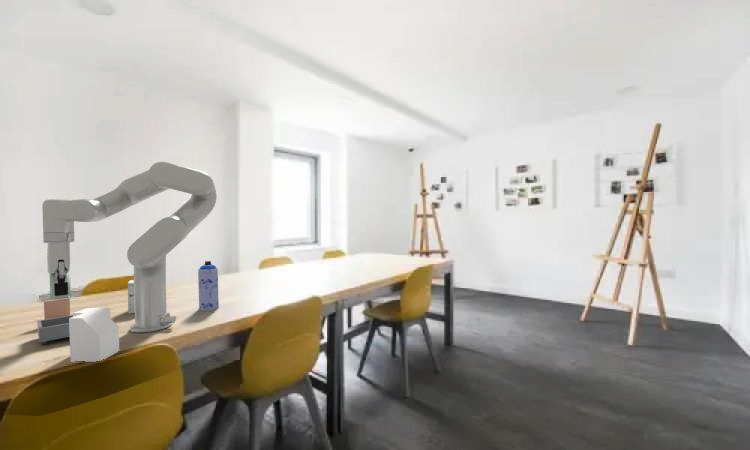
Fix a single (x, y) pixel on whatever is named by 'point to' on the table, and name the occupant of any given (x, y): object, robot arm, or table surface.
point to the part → (52, 281)
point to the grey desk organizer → (54, 320)
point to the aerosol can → (208, 287)
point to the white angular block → (93, 335)
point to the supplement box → (131, 297)
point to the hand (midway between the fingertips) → (60, 293)
